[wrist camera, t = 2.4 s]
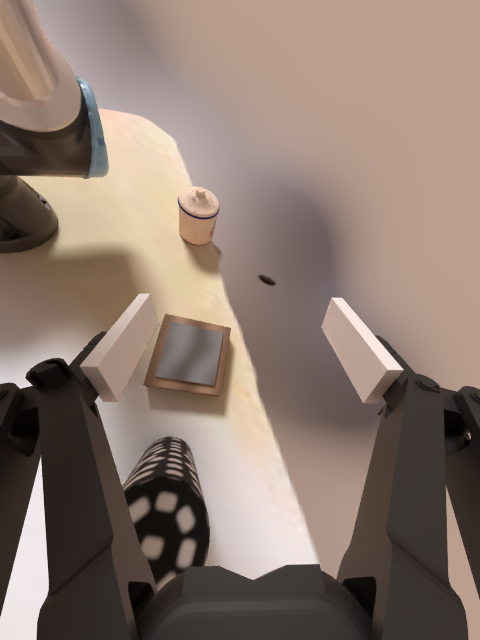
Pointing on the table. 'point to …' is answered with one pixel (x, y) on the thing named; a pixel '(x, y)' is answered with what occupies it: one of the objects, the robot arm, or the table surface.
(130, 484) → the white-spotted black cylinder
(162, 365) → the plinth
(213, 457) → the table surface
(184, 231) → the teacup with lid
